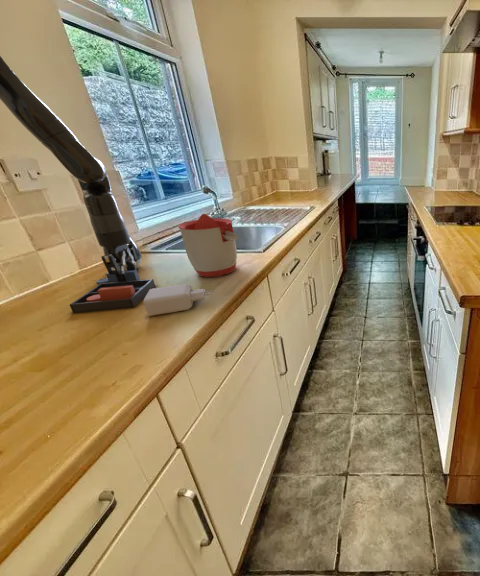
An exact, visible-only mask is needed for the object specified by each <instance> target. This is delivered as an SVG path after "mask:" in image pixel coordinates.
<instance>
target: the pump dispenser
mask: <svg viewBox="0 0 480 576" xmlns="http://www.w3.org/2000/svg"><path fill="white" fill-rule="evenodd" d="M129 237H130V240H131V241H130V243H128V244H133V245H134V248H135V252H136V256H137V259H138V261H137V262H135V263H136V265H135V267H136V269H138V268H139V267H140V266H141V265H142V258H143V255H142V253H141V250H140V249H139V247H138V245H137V244H136V242H135V241H134V240H133V238H132V236H130V235H129ZM102 252H103V256H106V255H107V249H106V248H105V247H102ZM132 256H133V255H132ZM117 264H118V263H117ZM118 267H119V269H120V266H118ZM126 267H127V266H126V265H125V266H124V271H127V268H126ZM111 269H112V267H111Z"/></svg>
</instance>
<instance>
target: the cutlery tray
mask: <svg viewBox="0 0 480 576" xmlns="http://www.w3.org/2000/svg"><path fill="white" fill-rule="evenodd" d="M129 285H133V287H134V290H135V294H134V295H133V296H132V297H130V298H129V299H118V300H107V301H96V302H87V298H88V297H90V296H93V295H97V294H99V292H98V290H99V289H100V288H106V287H117V286H129ZM154 288H156V283H155V281H154V279H153V278H151V279H150V278H149V279H140V280H137V281H125V282H113V283H101V284H99V285H96V286H95V287H93V288H92V289H90V290H88V291H87V292H86V293H84V294H83V295H82V296H80V297H79V298H77V299H75V300H74V301H73V302H71V303H70V304H69V307H70V309H71V312H72V313H73V314H80V313H88V312H89V313H91V312H99V311H109V310H111V311H112V310H119V309H120V310H121V309H129V308H131V309H132V308H135V307H136V306H137V305H138V304H139V303H140V302H141V301H142V300H144V298H145V297H146V295H147V293H148V292H149V290H150V289H154Z"/></svg>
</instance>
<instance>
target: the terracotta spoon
mask: <svg viewBox="0 0 480 576" xmlns="http://www.w3.org/2000/svg"><path fill="white" fill-rule="evenodd" d="M98 292H99V294H97V295H93V296H90V297H88V298H87V302H96V301H107V300H118V299H129V298H130V297H132V296H133V295H134V294H135V290H134V287H133V285H129V286H117V287H106V288H100V289H99V290H98Z"/></svg>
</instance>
